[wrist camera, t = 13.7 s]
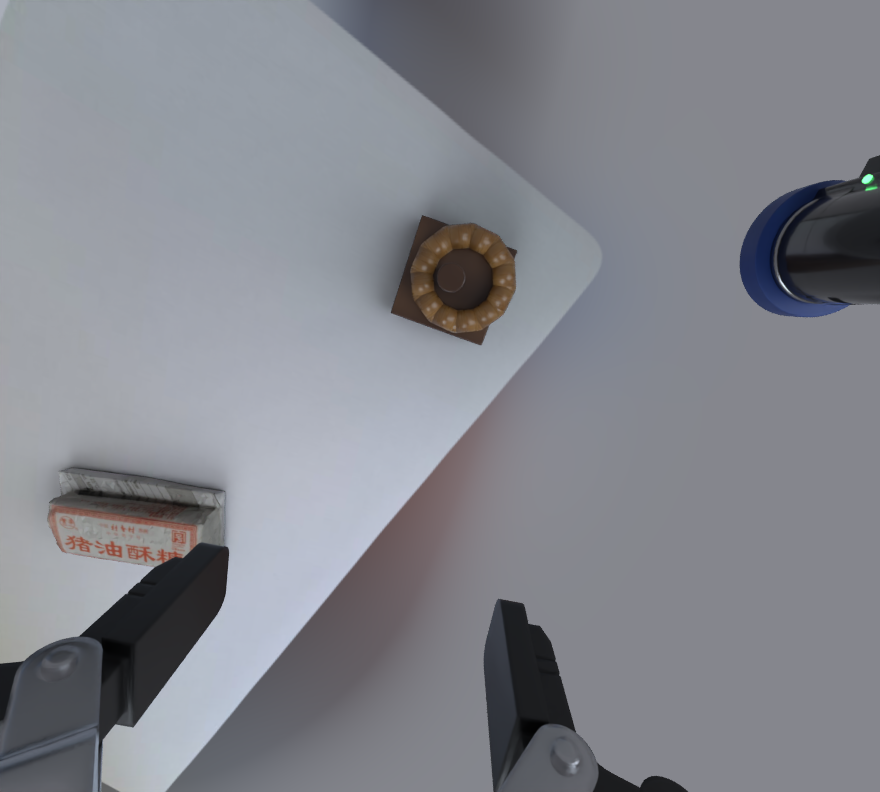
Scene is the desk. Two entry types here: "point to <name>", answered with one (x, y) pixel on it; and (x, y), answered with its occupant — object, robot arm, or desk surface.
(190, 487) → the packaged product
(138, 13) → the desk surface
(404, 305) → the peg stand
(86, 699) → the robot arm
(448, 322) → the segmented donut ring
